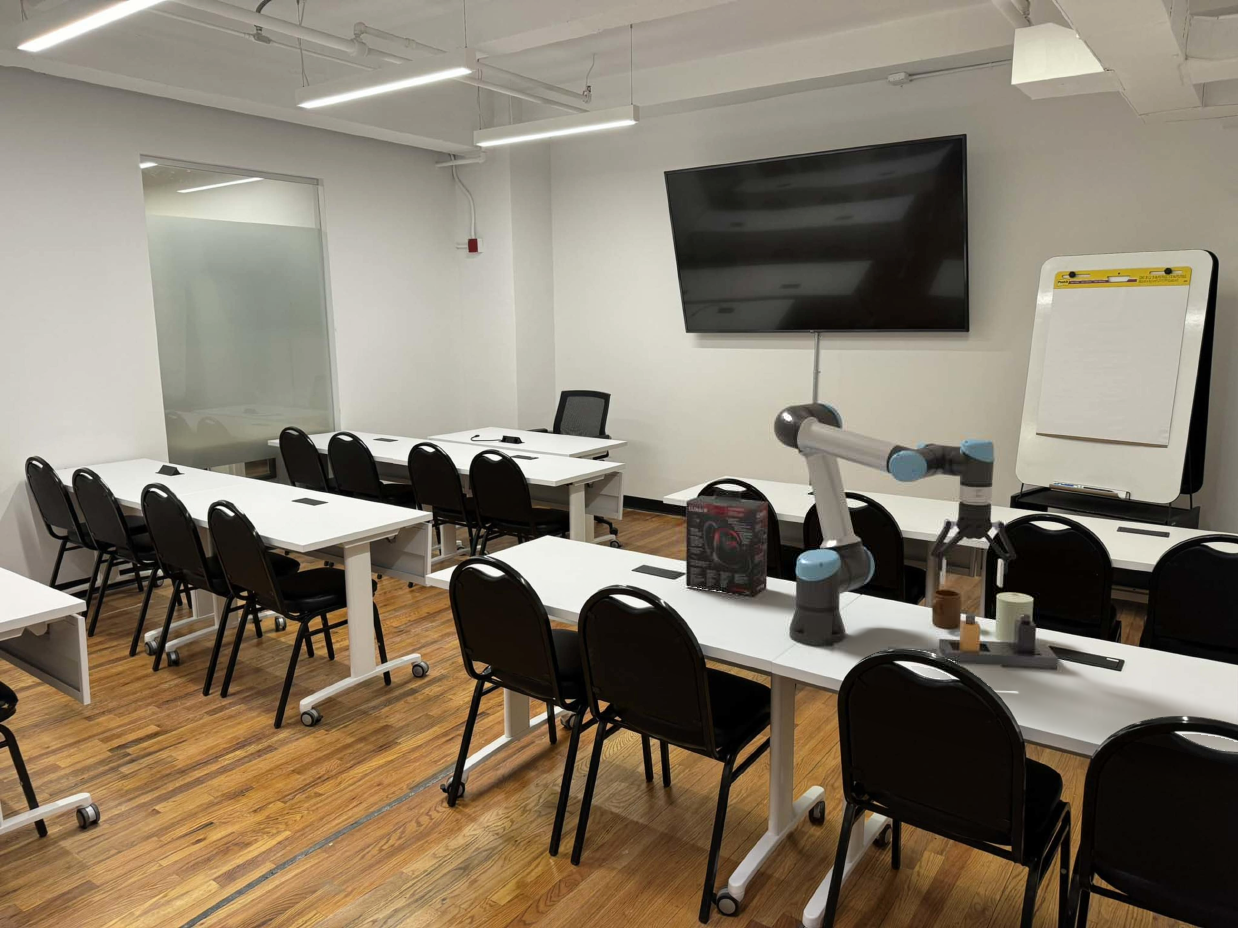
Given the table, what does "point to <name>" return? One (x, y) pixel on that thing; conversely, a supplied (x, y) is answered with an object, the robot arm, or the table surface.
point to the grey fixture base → (1006, 650)
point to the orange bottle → (969, 634)
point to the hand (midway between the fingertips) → (970, 584)
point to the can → (1010, 613)
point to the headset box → (726, 543)
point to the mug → (946, 609)
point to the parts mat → (916, 649)
